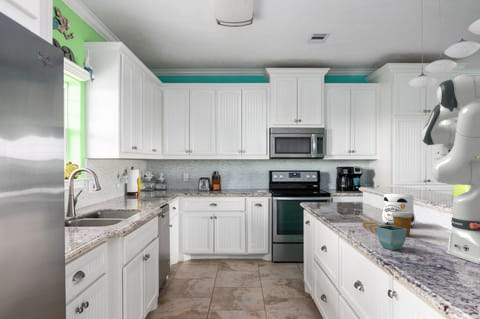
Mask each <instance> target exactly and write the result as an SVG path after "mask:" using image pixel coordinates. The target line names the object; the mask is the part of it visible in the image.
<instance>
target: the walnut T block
mask: <svg viewBox="0 0 480 319" xmlns="http://www.w3.org/2000/svg"><path fill="white" fill-rule="evenodd" d="M361 224H362V226H361V228H363V229H365V230H367V231H369V232H371V233H373V234H375V235H377V228H376V227H378V226H394V225H387V224H379V223H376V222H374V221H361Z"/></svg>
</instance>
